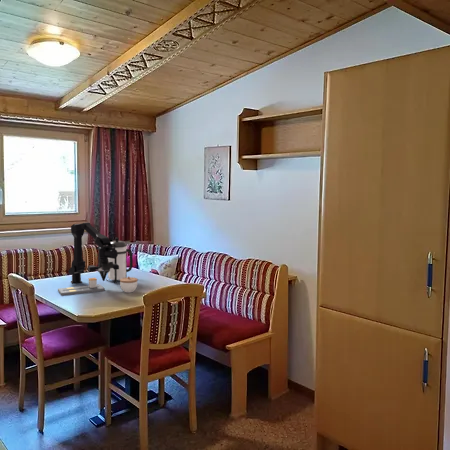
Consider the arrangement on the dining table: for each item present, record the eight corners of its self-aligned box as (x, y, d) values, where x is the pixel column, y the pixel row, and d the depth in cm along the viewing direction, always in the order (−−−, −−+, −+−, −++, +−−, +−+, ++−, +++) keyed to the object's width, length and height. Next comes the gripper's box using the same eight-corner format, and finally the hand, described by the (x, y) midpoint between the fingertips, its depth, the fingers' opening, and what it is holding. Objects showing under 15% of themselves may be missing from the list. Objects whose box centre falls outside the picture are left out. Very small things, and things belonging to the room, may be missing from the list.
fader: (88, 286, 289) (88, 278, 288) (95, 285, 291) (95, 277, 290) (90, 287, 285) (90, 279, 285) (96, 287, 287) (96, 278, 287)
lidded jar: (141, 290, 287) (141, 276, 286) (129, 294, 278) (128, 279, 277) (128, 288, 293) (128, 274, 292) (116, 291, 284) (116, 277, 283)
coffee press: (127, 283, 306) (126, 239, 303) (103, 282, 306) (102, 238, 303) (132, 277, 323) (132, 235, 320) (110, 277, 323) (110, 235, 320)
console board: (57, 290, 283) (57, 288, 283) (99, 286, 296) (99, 283, 296) (61, 295, 273) (61, 292, 273) (104, 290, 286) (104, 288, 286)
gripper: (91, 260, 278) (91, 285, 280) (121, 257, 287) (121, 282, 289) (87, 257, 287) (87, 281, 289) (116, 254, 297) (116, 278, 298)
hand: (103, 280), depth 291 cm, fingers closed
